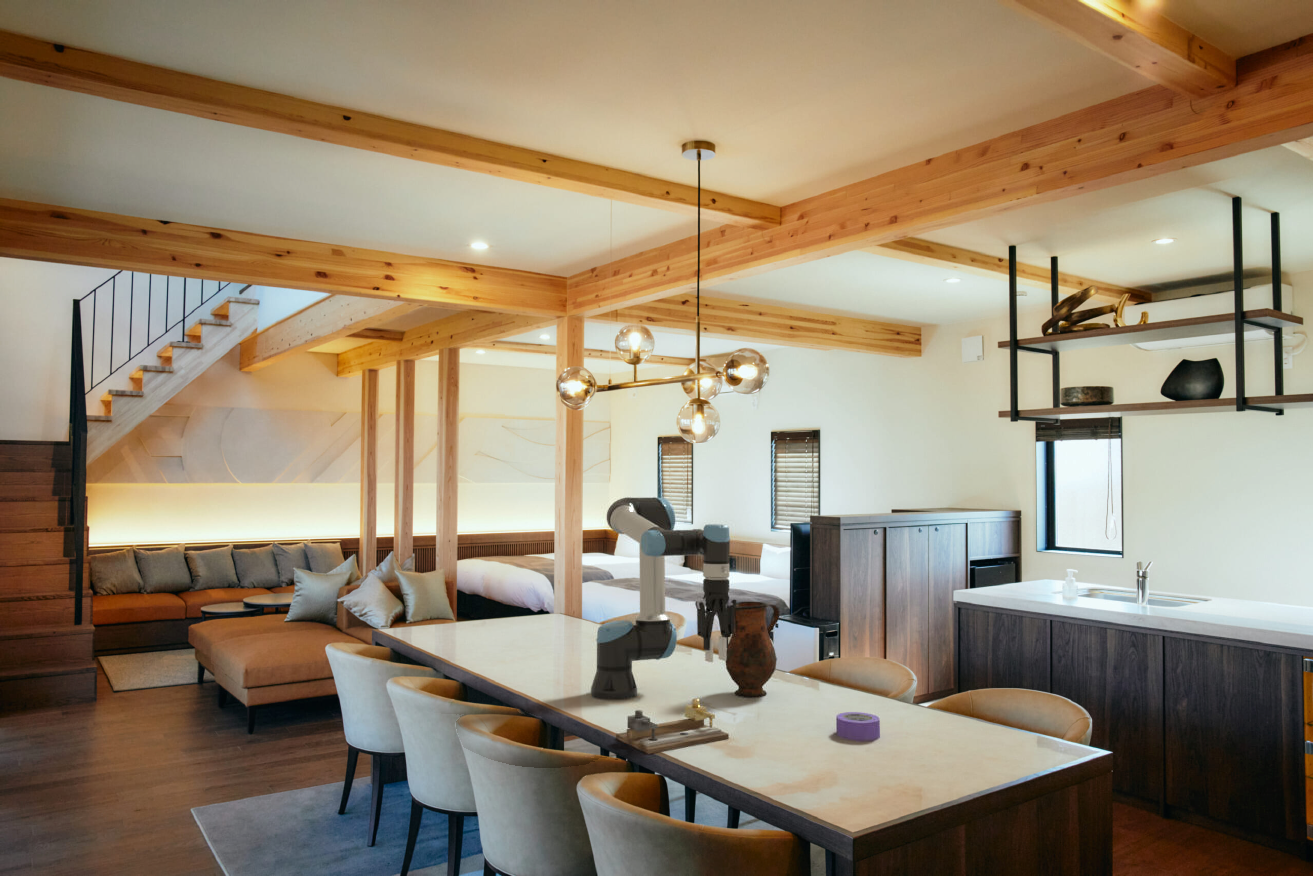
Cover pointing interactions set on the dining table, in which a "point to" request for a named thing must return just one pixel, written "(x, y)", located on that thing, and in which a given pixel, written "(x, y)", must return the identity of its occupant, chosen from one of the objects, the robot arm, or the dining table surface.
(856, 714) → the tape roll
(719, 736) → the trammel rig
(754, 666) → the pitcher
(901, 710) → the dining table surface
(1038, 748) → the dining table surface
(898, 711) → the dining table surface
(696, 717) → the sliding head
